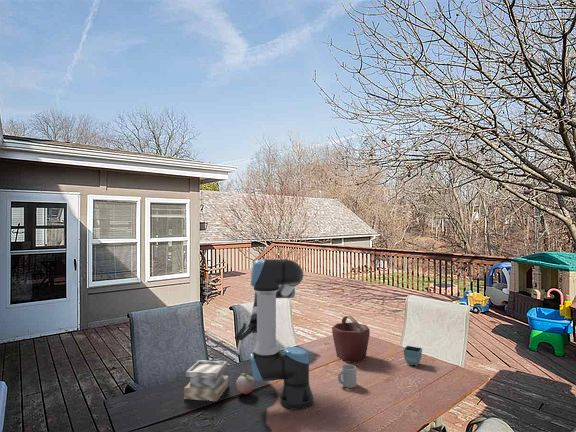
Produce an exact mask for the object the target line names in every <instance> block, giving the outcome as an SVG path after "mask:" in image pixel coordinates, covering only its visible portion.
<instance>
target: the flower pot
mask: <svg viewBox="0 0 576 432" xmlns="http://www.w3.org/2000/svg"><path fill="white" fill-rule="evenodd" d="M422 351H423V348H422V347H418V346H413V345H412V346H411V345H406V346H405V347H404V348H403V355H404V356H403V357H404V360H405V363H406V364H407V365H408V364H409V366H413V365H415V366H414V367H417V366H418V365H419V364H420V362H421V359H422V355H423V353H422Z"/></svg>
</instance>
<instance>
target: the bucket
mask: <svg viewBox="0 0 576 432" xmlns="http://www.w3.org/2000/svg"><path fill="white" fill-rule="evenodd" d="M348 319H349V320H350V321H351V322H347V320H348ZM331 327H332V328H331V333H332V338H333V343H334V344H333V345H334V347H335V348H334V349H335V353H336V358H337V357H339V358H340V359H339V358H338V359H339V360H341V359H342V360H343V362H344V361H350V362H349V363H355V362H357V363H360V362H363V361H365V360H366V356H367V351H368V346H369V341H370V335H371V334H370V330H371V329H370V327H368V326H367V324H362V323H359V322H358V321H357V319H356V318H354V317H353V316H351V315H344V316H343V317H342V319H341V322H339V323H336V324H335V325H333V326H331ZM364 359H365V360H364ZM342 360H341V361H342ZM362 360H363V361H362ZM359 361H360V362H359Z"/></svg>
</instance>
